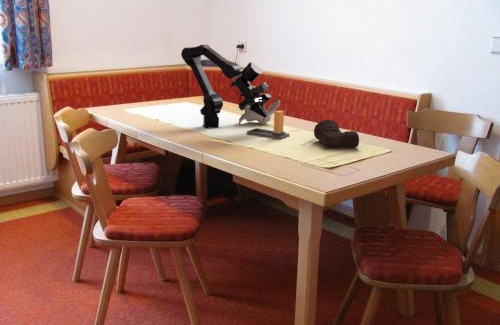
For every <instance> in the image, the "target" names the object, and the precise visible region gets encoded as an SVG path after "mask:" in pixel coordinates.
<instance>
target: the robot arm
mask: <svg viewBox="0 0 500 325" xmlns="http://www.w3.org/2000/svg"><path fill="white" fill-rule="evenodd" d="M180 56H181V59H182V60H183V61H184V63H185V64H186V65H188V67H190V68H191V71H192V73H193V75H194V77H195V80H196V82H197V84H198V86H199V88H200V90H201V93H202V96H203V106H202V107H201V108H200V109H199V110H200V111H199V112H200V114H201V115H202V117H203V118H202V120H203V121H202V122H203V124H202V126H203V127H204V129H214V128H215V129H216V128H217V129H218V128H219V126H220V117H219V114H220V113H221V110H222V109H223V106H224V99H223V98H222V97H221V94H220V93H219V92H217V93H216V92H215V91H214V90H213V88H212V85H211V83H210V80H209V79H208V76H207V74H206V72H205V71H204V67H203V66H202V61H201V60H202V56H204V57H205V58H206V59H208V60H209V61H211V62H212V63H213V64H215V66H217V67H218V68H219V69H220V70H221V72H222V73H223V75H224V76H225V77H226V78H227V79H235V80H231V84H230V87H231V88H235V87H236V88H237V90H238V91H239V93H240V97H241V98H243V97H244V98H245V99H244V100H243V99H242V100H241V101H240V102H239V104H238V109H239V110H240V111H245V107H246V106H247V105H250V108H249V110H251V111H253V112H255V113H257V114H259V115H261V116H263V117H264V118H266V117H267V114H266V110H265V109H266V108H265V104H266V103H267V102H268V101H269V100H270V99H271V98H272V96H271V94H270V93H267V92H269V87H270V86H269V85H268V83H267V82H263V83H261V84H260V85H257V86H256V85H252V84H251V83H254V81H255V80H256V79H257V78H258V77H259V76H260V75H261V74H262V73H263V71H262V68H261V67H260V66H259V65H257V64H255V63H254V61H250V62H248V64H247V65H246V66H245V67H242V66H241V65H239V64H237V62H233V61H230V60H228V59H226V58H225V57H223V55H221V54H220V53H218V52H217V51H216V50H214V49H213V48H212V47H211V46H210V45H208V44H200V45H198V46H192V47H191V46H190V47H183V48H182V50H181V53H180ZM265 92H266V93H265ZM219 129H220V128H219Z"/></svg>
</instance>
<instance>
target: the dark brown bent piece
mask: <svg viewBox="0 0 500 325" xmlns="http://www.w3.org/2000/svg"><path fill="white" fill-rule="evenodd" d="M313 135H314V138H315V139H317V140H318V141H319V142H321V143H322V144H323V146H324V147H325V148H338V147H340V148H342V147H343V148H345V147H347V148H346V149H354V147H355V148H357V147H358V146H359V145H360V136H359V134H358V132H357V131H354V130H351V131H350V130H349V131H343V132H341V129H340V127H339V124H338V123H337V122H336V121H335V120H332V119H323V120H321V121H319V122H318V123H317V124H316V125H315V126H314V129H313ZM348 147H349V148H348Z"/></svg>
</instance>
